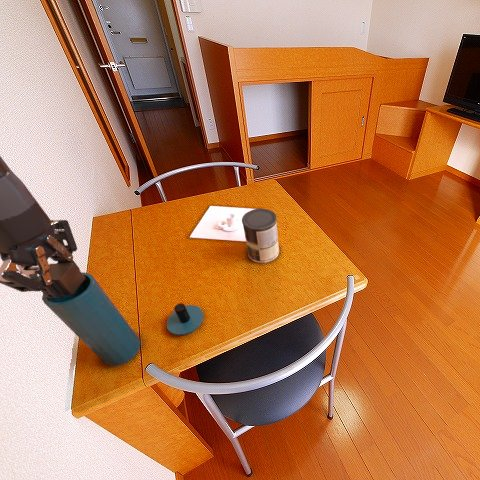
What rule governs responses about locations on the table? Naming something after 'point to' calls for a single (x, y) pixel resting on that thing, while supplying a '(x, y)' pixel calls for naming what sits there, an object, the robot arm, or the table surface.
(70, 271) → the block
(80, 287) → the tin
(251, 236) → the coffee can
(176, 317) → the lid
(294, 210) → the table surface
